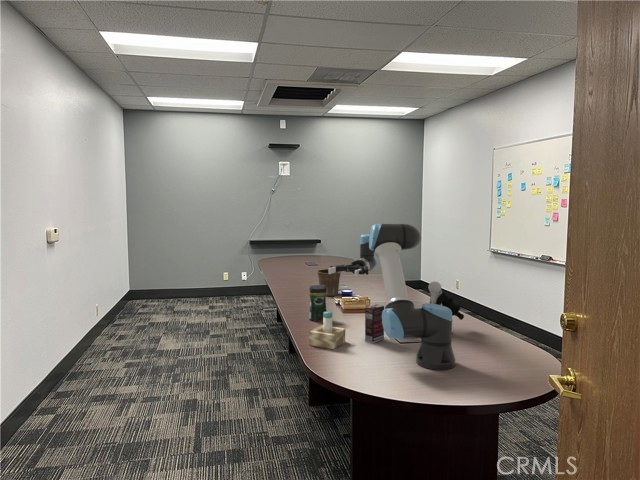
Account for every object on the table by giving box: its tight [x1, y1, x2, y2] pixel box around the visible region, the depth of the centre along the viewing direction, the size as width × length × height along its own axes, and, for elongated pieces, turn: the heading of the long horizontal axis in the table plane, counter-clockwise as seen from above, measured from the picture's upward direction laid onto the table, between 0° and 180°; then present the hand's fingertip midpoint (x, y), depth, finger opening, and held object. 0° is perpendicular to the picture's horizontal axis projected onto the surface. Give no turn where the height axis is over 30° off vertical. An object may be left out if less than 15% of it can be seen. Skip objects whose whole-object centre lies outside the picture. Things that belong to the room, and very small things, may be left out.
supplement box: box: [364, 304, 385, 344], centre depth 213 cm, size 9×5×16 cm, turn 134°
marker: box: [322, 311, 333, 334], centre depth 208 cm, size 4×4×14 cm
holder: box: [308, 324, 346, 350], centre depth 209 cm, size 12×12×6 cm
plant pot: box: [316, 268, 342, 297], centre depth 311 cm, size 16×16×16 cm
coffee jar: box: [308, 284, 328, 322], centre depth 249 cm, size 10×8×19 cm
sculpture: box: [427, 281, 465, 321], centre depth 228 cm, size 15×24×25 cm, turn 110°
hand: (342, 272), depth 219 cm, fingers open, 13 cm apart
